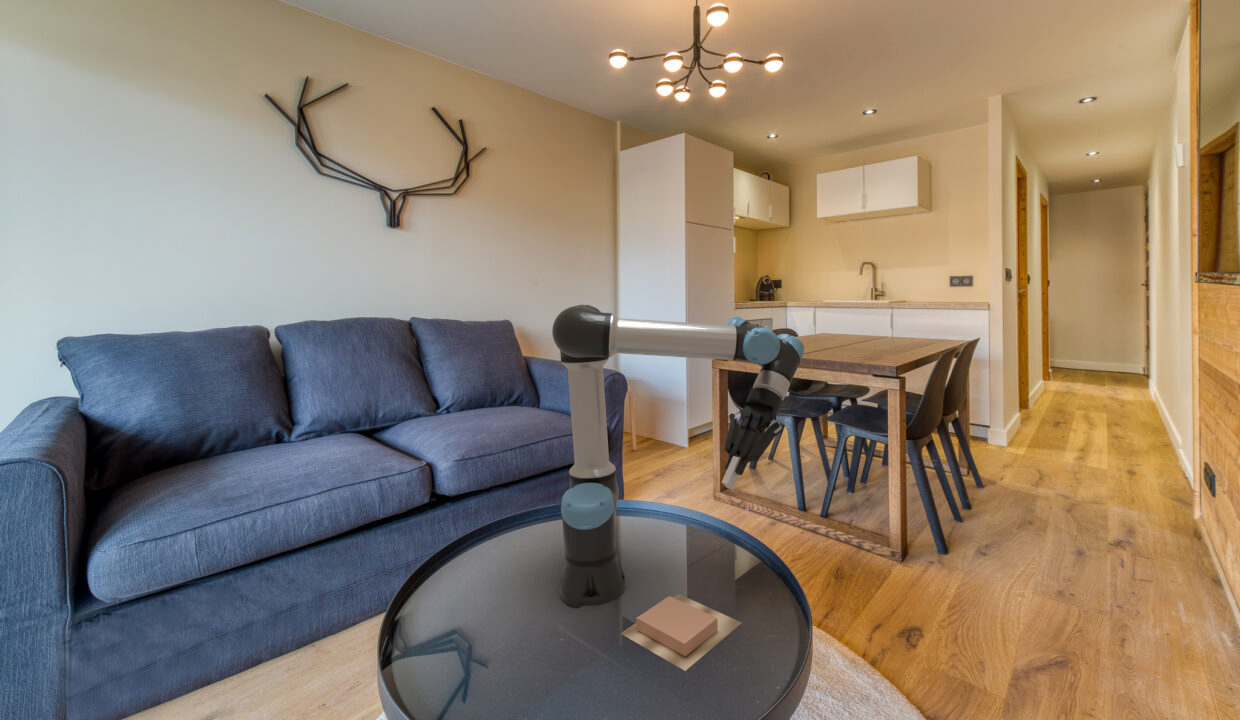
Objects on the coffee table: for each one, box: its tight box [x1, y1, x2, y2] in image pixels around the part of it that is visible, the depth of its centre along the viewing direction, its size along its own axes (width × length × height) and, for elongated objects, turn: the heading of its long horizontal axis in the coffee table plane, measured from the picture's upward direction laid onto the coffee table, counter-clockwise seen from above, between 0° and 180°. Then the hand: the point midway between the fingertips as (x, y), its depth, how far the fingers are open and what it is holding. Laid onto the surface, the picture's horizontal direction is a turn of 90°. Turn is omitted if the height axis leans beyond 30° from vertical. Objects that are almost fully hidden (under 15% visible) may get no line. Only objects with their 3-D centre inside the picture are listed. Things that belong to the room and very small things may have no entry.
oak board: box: [620, 594, 743, 672], centre depth 105 cm, size 16×18×1 cm
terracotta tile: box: [635, 595, 718, 657], centre depth 104 cm, size 12×3×10 cm
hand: (727, 485), depth 116 cm, fingers closed
